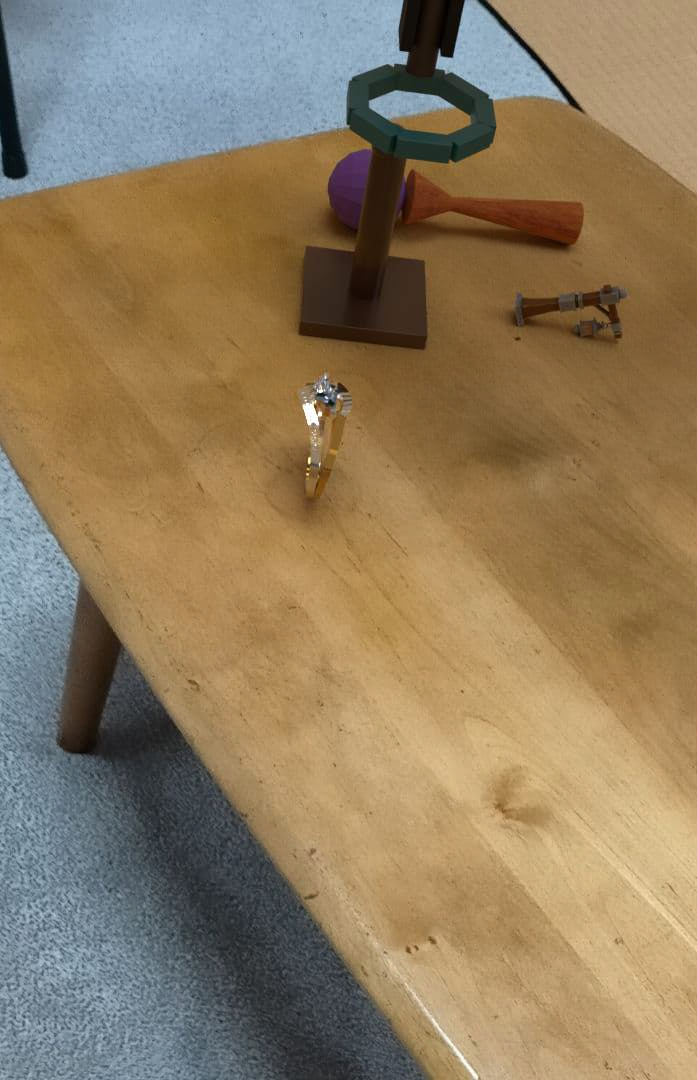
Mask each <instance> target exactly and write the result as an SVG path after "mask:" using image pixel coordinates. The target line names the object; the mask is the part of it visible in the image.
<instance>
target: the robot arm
mask: <svg viewBox="0 0 697 1080" xmlns="http://www.w3.org/2000/svg"><path fill="white" fill-rule="evenodd" d="M465 1H466V0H449V4H448V9H447V14H446V19H445V24H444V29H443V33H442V38H441V43H440V49H439V54H440V55H439V57H440V58H448V59H454V56H455V55H454V54H455V50H456V45H457V41H458V36H459V32H460V31H459V30H460V26H461V22H462V18H463V17H462V16H463V12H464V7H465ZM420 5H421V0H402V5H401V11H400V16H399V23H398V28H397V29H398V30H397V31H398V32H397V33H398V50H399V52H404V53H409V52H410V53H412V49H413V43H414V38H415V32H416V27H417V21H418V16H419V10H420Z"/></svg>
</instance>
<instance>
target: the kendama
mask: <svg viewBox="0 0 697 1080" xmlns="http://www.w3.org/2000/svg"><path fill="white" fill-rule="evenodd" d="M371 150H372V149H369V148H364V149H360V150H356V151H351V152H350V153H348V154H347V155H346V156H344V157H343V158H342V159H341V160H339V161H338V162H337V163H336V165H335V166H334V168H333V170H332V172H331V174H330V176H329V178H328V180H327V181H328V183H327V195H328V199H329V204H330V205H329V206H330V208H331V209H332V210H333V212H334V213H335V215H336V217H338V219H339V221H340V222H342V223H344V224H345V225H347V226H348V227H350V228H351V229H353V230H357V231H358V228H359V222H360V216H361V210H362V204H363V198H364V192H365V186H366V180H367V174H368V168H369V162H370V156H371ZM405 177H406V178H405ZM449 212H453V213H456V214H460V215H463V216H467V217H469V218H474V219H478V220H481V221H484V222H487V223H488V222H489V223H492V224H495V225H499V226H502V227H506V228H510V229H512V230H513V229H514V230H516V231H520V232H525V233H528V234H531V235H535V236H539V237H542V238H545V239H549V240H553V241H556V242H559V243H563V244H567V245H570V246H573V245H575V244H576V242H577V241H578V240H579V238H580V235H581V233H582V229H583V225H584V217H585V209H584V205H583V203H582V202H580V201H567V200H566V201H565V200H564V201H563V200H562V201H561V200H543V199H542V200H541V199H519V198H516V199H515V198H495V197H494V198H493V197H473V196H471V197H470V196H469V197H468V196H452V195H451V194H449V193H448V192H447V191H445V189H443V188H441V187H440V186H438V185H436V184H435V183H434V182H432V181H431V180H429V179H428V178H426V177H425V176H423V175H422V174H421V173H420V172H418V171H417V170H416V169H414V168H412V169H410V170H409V172H408V174H407V176H404V177H403V182H402V187H401V193H400V198H399V203H398V208H397V213H396V218H398V217H399V214H400V217H401V223H402V225H403V226H406V225H409V224H412V223H415V222H418V221H422V220H425V219H429V218H432V217H435V216H439V215H442V214H446V213H449Z"/></svg>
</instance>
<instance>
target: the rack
mask: <svg viewBox="0 0 697 1080" xmlns="http://www.w3.org/2000/svg"><path fill="white" fill-rule="evenodd" d="M393 123H394V124H395V125H397V126H398V127H400V128H401V129H406V127H404V126H403V125H401V124H399V123H398V122H397V123H396V122H393ZM370 145H371V146H370V147H371V149H370V150H371V156H370V162H369V168H368V174H367V180H366V186H365V192H364V198H363V204H362V210H361V216H360V222H359V228H358V230H357V234H356V240H355V246H354V251H352V250H345V249H338V248H331V247H330V248H329V247H320V246H312V245H305V248H304V249H305V250H304V255H303V256H304V257H303V269H302V270H303V271H302V282H301V284H302V285H301V296H300V297H301V298H300V310H299V323H298V324H299V325H298V335H302V336H310V337H311V336H312V337H320V338H327V339H336V340H342V341H343V340H344V341H345V340H346V341H352V342H362V343H370V344H377V345H385V346H386V345H387V346H394V347H402V348H411V349H420V350H425V349H426V345H427V340H428V314H427V312H428V311H427V310H428V309H427V286H426V285H427V284H426V261H425V260H424V259H416V258H408V257H400V256H392V255H391V256H390V255H389V254H390V249H391V245H392V240H393V233H394V229H395V223H396V219H397V217H396V213H397V208H398V203H399V198H400V193H401V187H402V182H403V177H405V172H406V166H407V161H408V159H405V158H397V157H394V152H393V153H391V154H388V155H387V154H386V153H384V152H383V151H381V150H380V149H378V148H377V147H375V146H374V145H372V144H371V143H370Z"/></svg>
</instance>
